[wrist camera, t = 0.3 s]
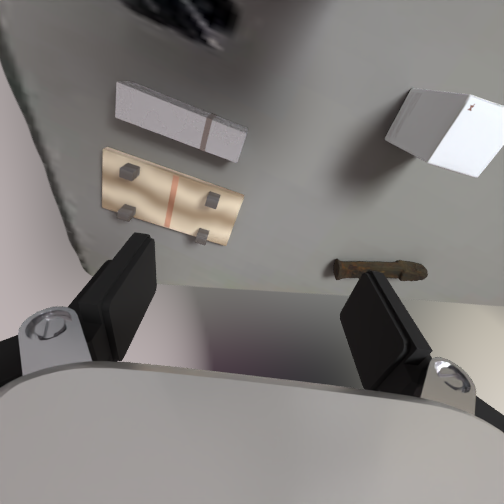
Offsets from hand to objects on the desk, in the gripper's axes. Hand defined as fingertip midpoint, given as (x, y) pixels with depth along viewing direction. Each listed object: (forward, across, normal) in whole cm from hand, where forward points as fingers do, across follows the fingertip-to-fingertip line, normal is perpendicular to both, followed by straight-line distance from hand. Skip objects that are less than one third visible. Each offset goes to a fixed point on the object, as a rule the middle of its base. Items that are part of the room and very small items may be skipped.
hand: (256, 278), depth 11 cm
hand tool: (+36, -30, +20) cm, 51 cm away
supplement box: (+35, -24, -6) cm, 43 cm away
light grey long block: (+35, +11, 0) cm, 37 cm away
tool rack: (+35, +13, +14) cm, 40 cm away
